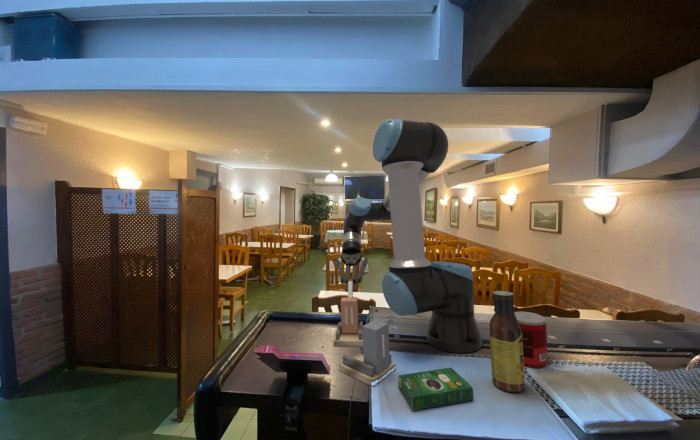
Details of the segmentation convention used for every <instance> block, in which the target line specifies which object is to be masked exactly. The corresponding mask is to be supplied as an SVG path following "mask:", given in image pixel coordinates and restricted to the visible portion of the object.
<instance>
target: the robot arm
mask: <svg viewBox="0 0 700 440" xmlns="http://www.w3.org/2000/svg"><path fill="white" fill-rule="evenodd" d="M448 152H449V140H448V136H447V134H446V132H445V131H444V129H443V128H442V127H441V126H439V124H436V123H434V122H427V121H426V122H424V121H415V120H408V119H402V118H397V119H395V118H388V119H385V120H384V121H382V122H381V123H380V124H379V126H378V128H377V129H376V132H375V134H374V138H373V143H372V155H373V158H374V160H375V161H377V162H378V163H381V170H382V172H383V173H385V175H387V182H388V193H387V194H386V196H385V197H384V199H383V200H382V201H380V202H371V201H370V200H369V199H368V198H366V197H365V198H364V197H363V196H357V197H355V198H354V199H353V200H352V202H351V205H350V207H349V210H348V214H347V215H345V218H344V221H343V224H342V225H343V234H342V236H343V237H342V251H341V255H340V257H339V258H335V259H334V262H335V266H337V269H338V274H339V279H340V283H342V284H344V291H345V292H346V293H347V297H354V296H353V295H354V293H355V292H356V291H357V284H358V283H359V284H360V283H362V280H363V275H364V273H365V269H366V266H367V265H368V264H369V263H368V261H369V260H368V257H363V254H362V228H363V226H364V225H365V223H366V222H373V221H375V222H376V221H377V222H379V221H390V224H391V237H392V251H393V260H392V261H391V262H390V263H389V264H388V269H389V270H388V272H386V273H385V274H384V275H383V277H382V280H381V289H382V293H383V297H384V299H385V302H386V303H387V305H388V307H389V309H390V310H391V311H392V312H393V313H394V314H396V315H398V316H399V317H402V316H403V317H406V316H416V315H418V314H423V313H427V312H431V316H430V320H429V322H428V326H427V329H426V340H427V342H428V343H429V344H430V345H431V346H432V347H435V348H437V349H439V350H442V351H444V352H450V353H458V354H468V353H474V352H477V351H479V350H481V349H482V347H483V337H482V333H481V330H480V329H479V325H478V323H477V320H476V317H475V303H474V302H475V300H474V299H475V297H474V290H475V289H474V277H473V270H472V268H471V266H469V265H467V264H462V263H456V262H450V261H438V260H437V261H436V260H435V261H434V260H433V261H429V259H427V258H426V252H425V239H424V237H425V236H424V225H423V214H422V213H423V212H422V200H421V199H422V198H421V189H420V187H421V185H422V184H423V182H424V181H425V180H426V179H427V177H429V175H430V174H433V173H436V172H437V170H439V168H440V167H441V166H442V164H443V163H444V161H445V159H446V158H447V154H448ZM342 263H343V264H344V265H345V275H344V274H343V269H342ZM359 263H361V264H360V267H359V271H358V274H357V266H358V265H359ZM351 267H352V280H350V274H351V273H350V268H351ZM344 276H345V277H344Z"/></svg>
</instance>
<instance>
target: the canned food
mask: <svg viewBox="0 0 700 440" xmlns="http://www.w3.org/2000/svg"><path fill="white" fill-rule="evenodd" d="M514 314H515V316H516V318H517V321H518V323H519V326H520V328H521V330H522V342H523V358H524V367H527V368H532V369H539V368H540V369H541V368H544V367H546V366H547V365H548V364H547V363H548V348H547V347H548V341H547V340H548V339H547V338H548V337H547V336H548V335H547V334H548V333H547V320H546V317H544V316H543V315H540V314H539V313H535V312H529V311H514Z"/></svg>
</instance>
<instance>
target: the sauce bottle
mask: <svg viewBox="0 0 700 440" xmlns="http://www.w3.org/2000/svg"><path fill="white" fill-rule="evenodd" d="M514 295H515V294H514V293H513V292H510V291H506V290H505V291H504V290H496V291H493V292H492V299H493V306H494V309H493V312H494V314H493V315H492V317H491V318H490V320H489V349H490V351H489V352H490V366H491V367H490V368H491V376H492V382H493V384H494V385H495V386H496V387H497V388H499V389H501V390H502V391H506V392H511V393H521V392H522V391H523V390H524V388H525V382H526V381H525V380H526V378H525V366H524V358H523V342H522V330H521V328H520V326H519V323H518V321H517V318H516V316H515V314H514V312H515V308H514V307H515V306H514V301H515V296H514Z"/></svg>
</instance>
